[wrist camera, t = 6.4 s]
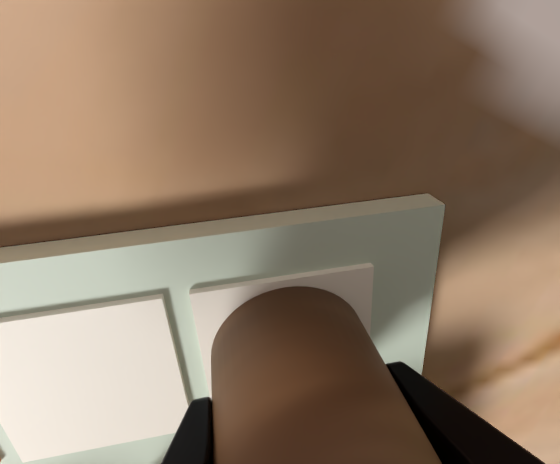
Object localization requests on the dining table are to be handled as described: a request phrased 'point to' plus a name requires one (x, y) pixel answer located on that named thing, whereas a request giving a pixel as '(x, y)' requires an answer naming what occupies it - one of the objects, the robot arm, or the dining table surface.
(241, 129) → the dining table surface
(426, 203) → the board
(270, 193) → the dining table surface
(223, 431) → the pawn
